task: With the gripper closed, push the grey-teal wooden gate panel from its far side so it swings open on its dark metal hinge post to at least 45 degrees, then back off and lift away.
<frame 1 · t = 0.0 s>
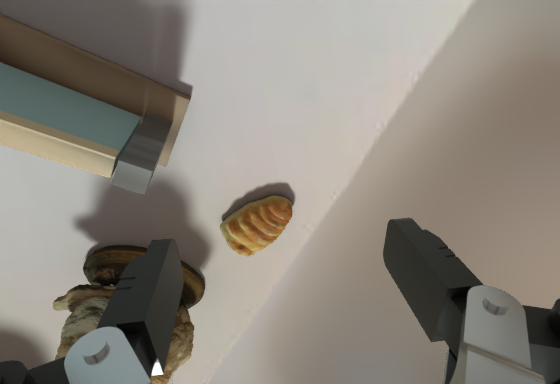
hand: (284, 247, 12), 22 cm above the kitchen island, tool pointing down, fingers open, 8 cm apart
gate frame: (64, 87, 28), on the kitchen island
gate panel: (32, 109, 24), point 5 cm above the kitchen island, hinge at 0.0°
pastry: (254, 217, 41), on the kitchen island
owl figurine: (146, 275, 45), on the kitchen island
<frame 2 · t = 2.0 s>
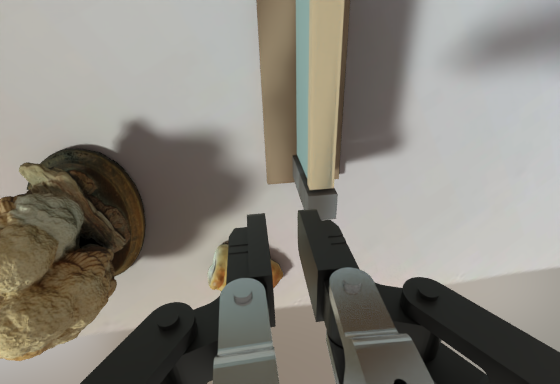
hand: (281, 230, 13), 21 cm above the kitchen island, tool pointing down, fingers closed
gate frame: (302, 81, 30), on the kitchen island
gate panel: (313, 91, 25), point 6 cm above the kitchen island, hinge at 0.0°
pastry: (241, 261, 41), on the kitchen island
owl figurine: (91, 212, 35), on the kitchen island
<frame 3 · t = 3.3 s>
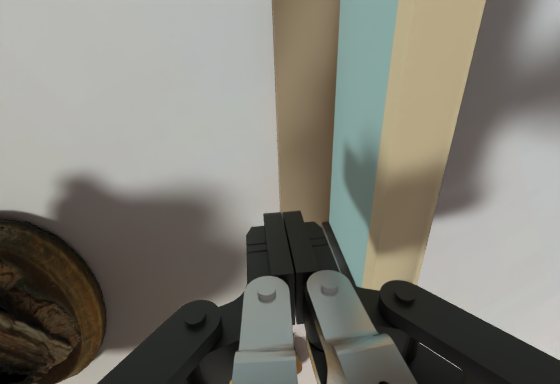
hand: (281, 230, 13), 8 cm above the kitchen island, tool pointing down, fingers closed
gate frame: (340, 114, 19), on the kitchen island
gate panel: (373, 143, 14), point 5 cm above the kitchen island, hinge at 0.0°
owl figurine: (25, 299, 24), on the kitchen island
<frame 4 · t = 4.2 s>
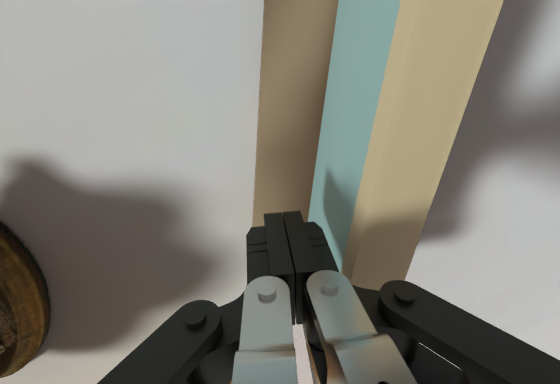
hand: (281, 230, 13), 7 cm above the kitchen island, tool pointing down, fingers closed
gate frame: (326, 124, 18), on the kitchen island
gate panel: (358, 161, 13), point 6 cm above the kitchen island, hinge at 0.6°, touching gripper
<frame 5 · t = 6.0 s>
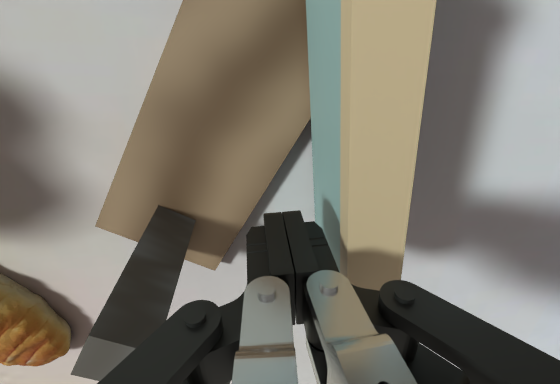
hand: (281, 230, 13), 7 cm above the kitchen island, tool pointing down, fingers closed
gate frame: (231, 104, 17), on the kitchen island
gate panel: (345, 157, 13), point 6 cm above the kitchen island, hinge at 35.8°, touching gripper
pastry: (9, 301, 23), on the kitchen island
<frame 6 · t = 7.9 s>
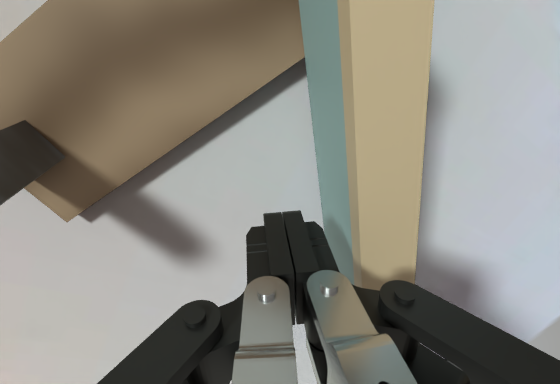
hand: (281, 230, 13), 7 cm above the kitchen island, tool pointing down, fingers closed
gate frame: (159, 53, 15), on the kitchen island
gate panel: (350, 158, 13), point 6 cm above the kitchen island, hinge at 66.7°
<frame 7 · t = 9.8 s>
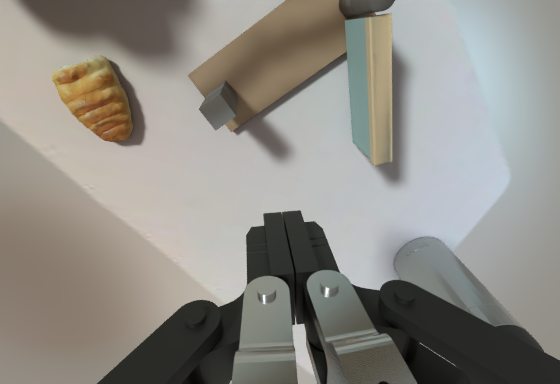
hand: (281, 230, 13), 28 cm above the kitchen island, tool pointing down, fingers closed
gate frame: (283, 51, 36), on the kitchen island
gate panel: (367, 90, 33), point 5 cm above the kitchen island, hinge at 66.7°
pastry: (103, 94, 36), on the kitchen island
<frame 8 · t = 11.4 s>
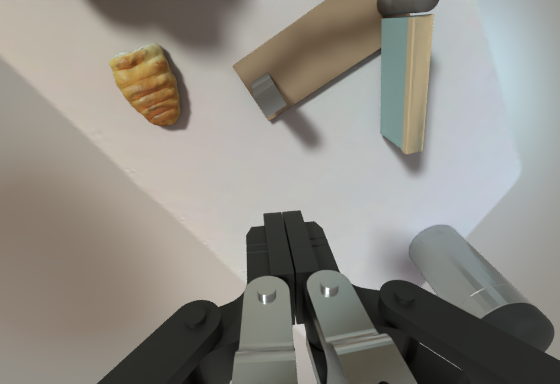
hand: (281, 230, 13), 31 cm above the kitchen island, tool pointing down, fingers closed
gate frame: (321, 45, 38), on the kitchen island
gate panel: (401, 85, 36), point 5 cm above the kitchen island, hinge at 66.7°
pastry: (152, 81, 38), on the kitchen island
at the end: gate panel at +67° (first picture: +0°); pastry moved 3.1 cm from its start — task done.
